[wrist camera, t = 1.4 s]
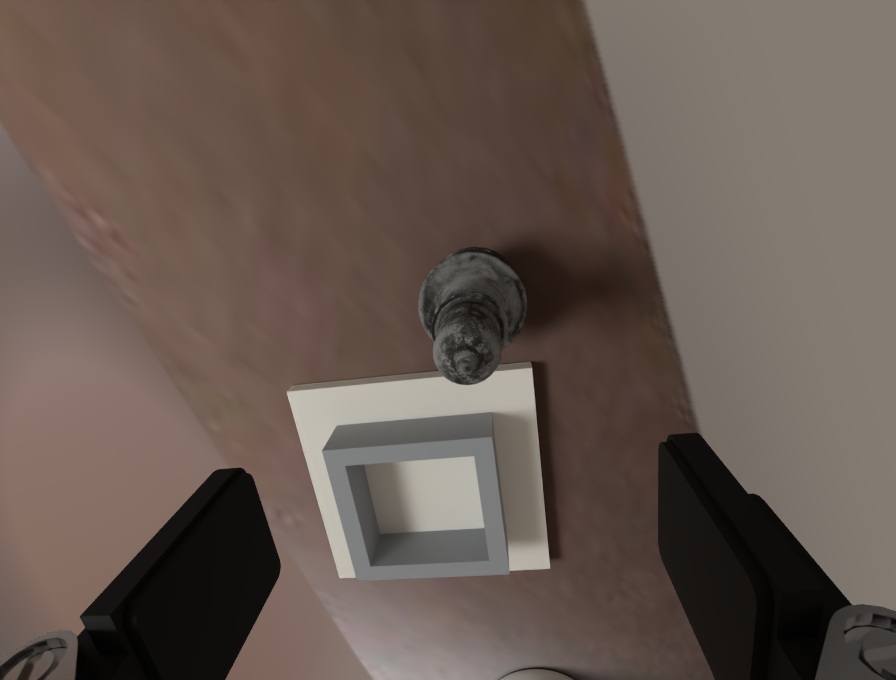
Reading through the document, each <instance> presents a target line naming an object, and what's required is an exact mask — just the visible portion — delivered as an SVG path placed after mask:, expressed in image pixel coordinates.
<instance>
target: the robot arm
mask: <svg viewBox="0 0 896 680" xmlns="http://www.w3.org/2000/svg"><path fill="white" fill-rule="evenodd" d="M658 545H659V551H660V555H661V559H662V561H663V564H664V566H665V568H666V570H667V573H668V575H669V577H670V579H671V582H672V584H673V586H674V588H675V590H676V593H677V595H678V597H679V599H680V602H681V604H682V606H683V608H684V611H685V613H686V615H687V617H688V620H689V622H690V624H691V626H692V629H693V631H694V633H695V635H696V638H697V640H698V642H699V644H700V646H701V649H702V651H703V653H704V655H705V658H706V660H707V662H708V664H709V667H710V669H711V671H712V673H713V676H714V678H715V680H896V611H893V610H890V609H887V608H884V607H878V606H872V605H864V604H860V605H852V604H851V603H850V602H849V601H848V600H847V598H846V597H845V596H844V595H843V594H842V592H841V591H840V590H839V589H838V588H837V587H836V585H835V584H834V583H833V582H832V581H831V579H830V578H829V577H828V576H827V575H826V574H825V572H824V571H823V570H822V569H821V567H820V566H819V565H818V564H817V563H816V562H815V560H814V559H813V558H812V557H811V556H810V555H809V553H808V552H807V551H806V550H805V548H804V547H803V546H802V545H801V544H800V543H799V541H798V540H797V539H796V538H795V537H794V535H793V534H792V533H791V532H790V531H789V529H788V528H787V527H786V526H785V525H784V523H783V522H782V521H781V520H780V519H779V518H778V516H777V515H776V514H775V513H774V512H773V510H772V509H771V508H770V507H769V506H768V504H767V503H766V502H765V501H764V500H763V499H762V498H761V497H760V496H758V495H756V494H748V493H747V492H746V491H745V490H744V488H743V487H742V486H741V485H740V483H738V481H737V480H736V478H735V477H734V476H733V475H732V474H731V472H730V471H729V470H728V469H727V467H726V466H725V465H724V464H723V462H722V461H721V460H720V459H719V457H718V456H717V455H716V454H715V452H714V451H713V450H712V449H711V447H710V446H709V445H708V444H707V443H706V441H705V440H704V439H703V438H702V436H701V435H700V434H699V433H686V434H673V435H669V436H668V438H667V442H660V443H659V461H658ZM280 568H281V565H280V559H279V556H278V553H277V550H276V547H275V544H274V541H273V538H272V535H271V531H270V528H269V525H268V522H267V519H266V516H265V513H264V510H263V507H262V504H261V501H260V498H259V495H258V492H257V488H256V485H255V482H254V479H253V477H252V475H251V474H249V473H246V471H245V470H244V469H242V468H230V469H219V470H216V471H214V472H213V473H212V474H211V475H210V476H209V477H208V478H207V480H206V481H205V482H204V483H203V484H202V485H201V486H200V487H199V488H198V489H197V490H196V492H195V493H194V494H193V495H192V496H191V497H190V498H189V499H188V500H187V501H186V502H185V503H184V504H183V506H182V507H181V508H180V509H179V510H178V511H177V512H176V513H175V514H174V515H173V516H172V517H171V519H170V520H169V521H168V522H167V523H166V524H165V525H164V526H163V527H162V528H161V529H160V530H159V532H158V533H157V534H156V535H155V536H154V537H153V538H152V539H151V540H150V541H149V542H148V543H147V545H146V546H145V547H144V548H143V549H142V550H141V551H140V552H139V553H138V554H137V555H136V556H135V557H134V559H133V560H132V561H131V562H130V563H129V564H128V565H127V566H126V567H125V568H124V569H123V570H122V571H121V573H120V574H119V575H118V576H117V577H116V578H115V579H114V580H113V581H112V582H111V583H110V584H109V586H108V587H107V588H106V589H105V590H104V591H103V592H102V593H101V594H100V595H99V596H98V597H97V599H96V600H95V601H94V602H93V603H92V604H91V605H90V606H89V607H88V608H87V609H86V610H85V611H84V613H83V614H82V615H81V616H80V618H81V620H82V622H83V624H84V626H85V629H84V630H83V631H82V632H81V633H80V634H79V635H78V637H77V635H76V634H75V633H73V632H72V631H70V630H69V631H68V630H58V631H53V632H49V633H46V634H43V635H41V636H38V637H36V638H34V639H31V640H30V641H28V642H26V643H25V644H23V645H21V646H19V647H17V648H16V649H14V650H13V651H12V652H10V653H9V654H7V655H6V656H5V657H3V658H2V659H1V660H0V680H225V679H226V677H227V675H228V673H229V671H230V669H231V668H232V666H233V663H234V661H235V660H236V658H237V656H238V654H239V652H240V650H241V648H242V646H243V645H244V643H245V641H246V639H247V637H248V635H249V633H250V631H251V629H252V627H253V625H254V623H255V622H256V620H257V618H258V616H259V614H260V612H261V610H262V608H263V606H264V604H265V602H266V600H267V598H268V597H269V595H270V593H271V591H272V589H273V587H274V585H275V583H276V581H277V579H278V577H279V574H280Z"/></svg>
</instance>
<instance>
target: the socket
mask: <svg viewBox="0 0 896 680" xmlns="http://www.w3.org/2000/svg"><path fill="white" fill-rule="evenodd" d="M287 395H288V398H289V402H290V405H291V409H292V412H293V416H294V419H295V423H296V426H297V430H298V433H299V437H300V441H301V444H302V448H303V451H304V455H305V458H306V462H307V465H308V469H309V472H310V476H311V479H312V483H313V486H314V490H315V493H316V497H317V500H318V504H319V507H320V511H321V514H322V518H323V521H324V525H325V528H326V532H327V535H328V539H329V542H330V546H331V549H332V553H333V557H334V560H335V564H336V567H337V571H338V574H339V578H355V577H356V579H357V581H368V580H390V579H413V578H436V577H459V576H481V575H504V574H510V573H509V571H510V570H532V569H550V561H549V550H548V539H547V528H546V517H545V506H544V495H543V484H542V473H541V461H540V450H539V439H538V428H537V417H536V406H535V395H534V384H533V373H532V365H531V362H522V363H512V364H501V365H498V367H497V368H496V370H495V371H494V372H493V374H492V375H491V376H490V377H488V378H487V379H486V380H484V381H482V382H480V383H478V384H473V385H459V384H456V383H453V382H451V381H449V380H448V379H446V378H445V377H444V376H443V375H442V374H441V373H440V372H439V371H431V372H421V373H411V374H401V375H391V376H381V377H371V378H361V379H351V380H341V381H331V382H321V383H311V384H300V385H292V387H291V388H290V389H289V390H288V391H287Z"/></svg>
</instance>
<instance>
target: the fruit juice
mask: <svg viewBox="0 0 896 680" xmlns="http://www.w3.org/2000/svg"><path fill="white" fill-rule="evenodd" d="M500 680H574V679H572V678H570V677H568V676H566V675H564V674H561V673H558V672H555V671H550V670H543V669H528V670H521V671H517V672H514V673H511V674H509V675H507V676H505V677H503V678H501V679H500Z"/></svg>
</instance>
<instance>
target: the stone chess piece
mask: <svg viewBox="0 0 896 680" xmlns="http://www.w3.org/2000/svg"><path fill="white" fill-rule="evenodd" d="M418 311H419V315H420V319H421V323H422V325H423V327H424V329H425V331H426V332H427V334H428V336H429V337H430V338H431V339H432V340H433V342H434V344H433V357H434V361H435V365H436V366H437V368H438V370H439V372H440V373H441V374H442V375H443V376H444V377H445V378H446V379H448V380H449V381H451V382H453V383H456V384H459V385H473V384H478V383H480V382H482V381H484V380H486V379H487V378H488V377H490V376H491V375H492V374H493V372H494V371H495V370H496V368H497V367H498V364H499V362H500V359H501V352H502V349H503V348H505V347H506V346H507V345H509V344H510V343H511V342H512V341H513V340H514V339H515V337H516V336H517V335H518V333H519V332H520V331H521V329H522V326H523V324H524V321H525V319H526V313H527V298H526V292H525V288H524V286H523V284H522V282H521V280H520V278H519V276H518V275H517V274H516V273H515V271H514V270H513V269H512V268H511V266H510V265H509V264H508V263H507V262H506V260H505V259H504V258H503V257H501V256H500V255H498V254H497V253H495V252H493V251H490V250H487V249H484V248H475V247H470V248H465V249H460V250H458V251H456V252H454V253H452V254H450V255H449V256H448V257H446V258H445V259H444V260H443V261H441V262H440V263H439V264H438V265H437V266H435V267H434V268H433V269H432V270H431V271H430V273H429V274H428V276H427V277H426V279H425V280H424V282H423V284H422V287H421V290H420V294H419V302H418Z"/></svg>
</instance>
